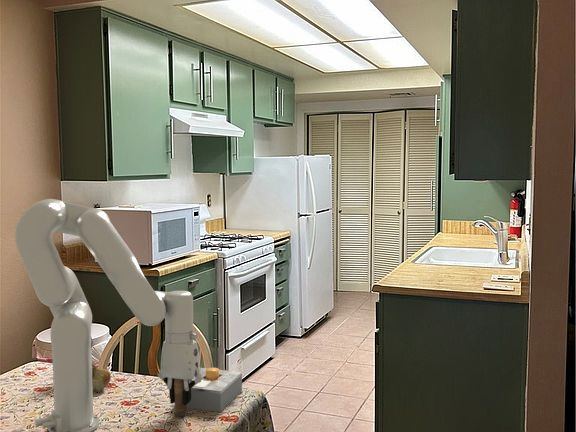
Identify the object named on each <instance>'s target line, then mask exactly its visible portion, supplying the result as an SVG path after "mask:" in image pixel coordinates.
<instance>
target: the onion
mask: <svg viewBox="0 0 576 432" xmlns="http://www.w3.org/2000/svg"><path fill="white" fill-rule="evenodd" d="M111 378H112V376H111V372H110V371H109V370H108V369H105V368H103V367H97V366H96V364H92V386H93V392H96V393H97V392H100V391H103V390H104V389H105V388H107V387H108V385H109V384H110V382H111Z"/></svg>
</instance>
